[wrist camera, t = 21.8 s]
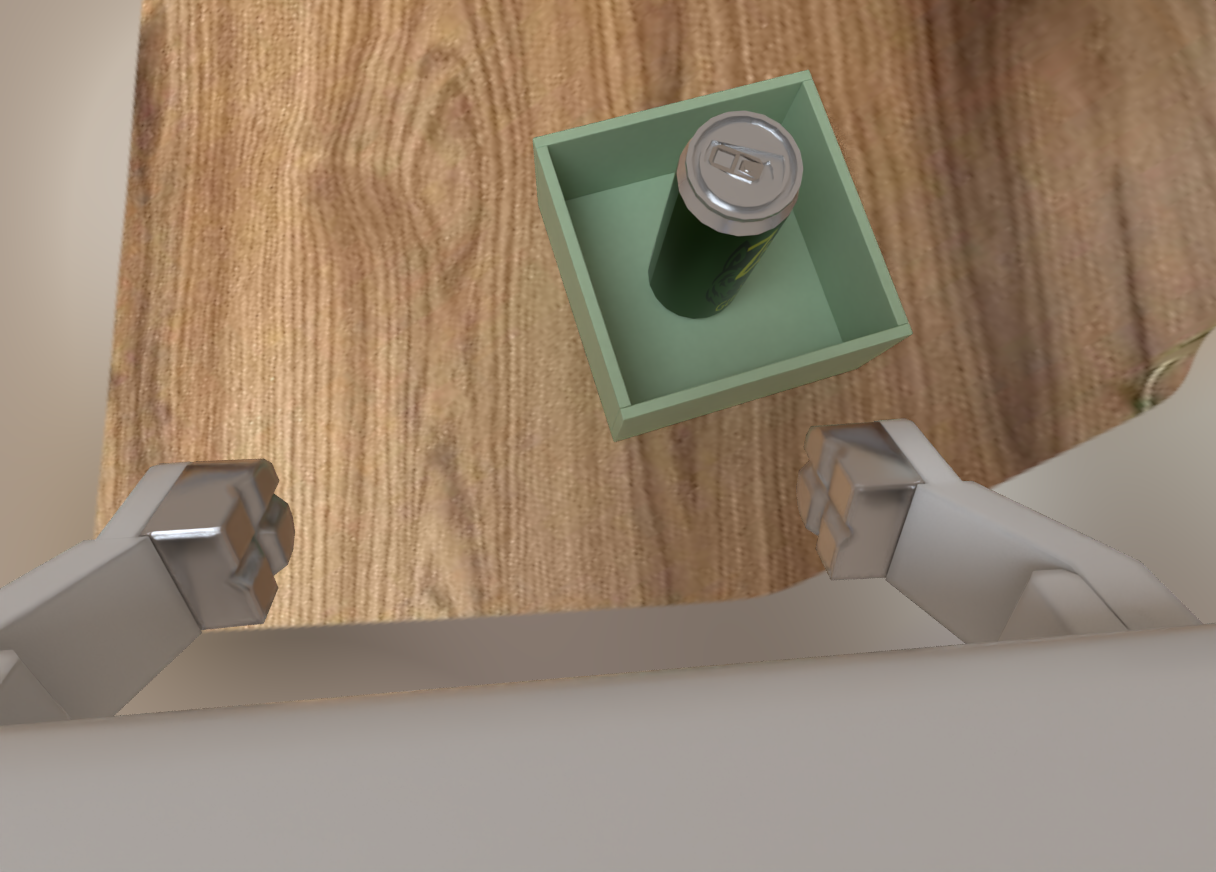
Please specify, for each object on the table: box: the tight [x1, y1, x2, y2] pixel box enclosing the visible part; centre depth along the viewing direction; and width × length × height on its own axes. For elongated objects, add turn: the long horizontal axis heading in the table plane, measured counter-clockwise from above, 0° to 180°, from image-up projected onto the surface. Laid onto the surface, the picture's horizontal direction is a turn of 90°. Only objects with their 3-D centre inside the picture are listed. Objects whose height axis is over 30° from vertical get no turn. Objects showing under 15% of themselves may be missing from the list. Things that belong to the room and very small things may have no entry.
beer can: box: [648, 111, 803, 319], centre depth 34 cm, size 5×5×12 cm
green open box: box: [533, 70, 913, 442], centre depth 37 cm, size 15×15×7 cm
